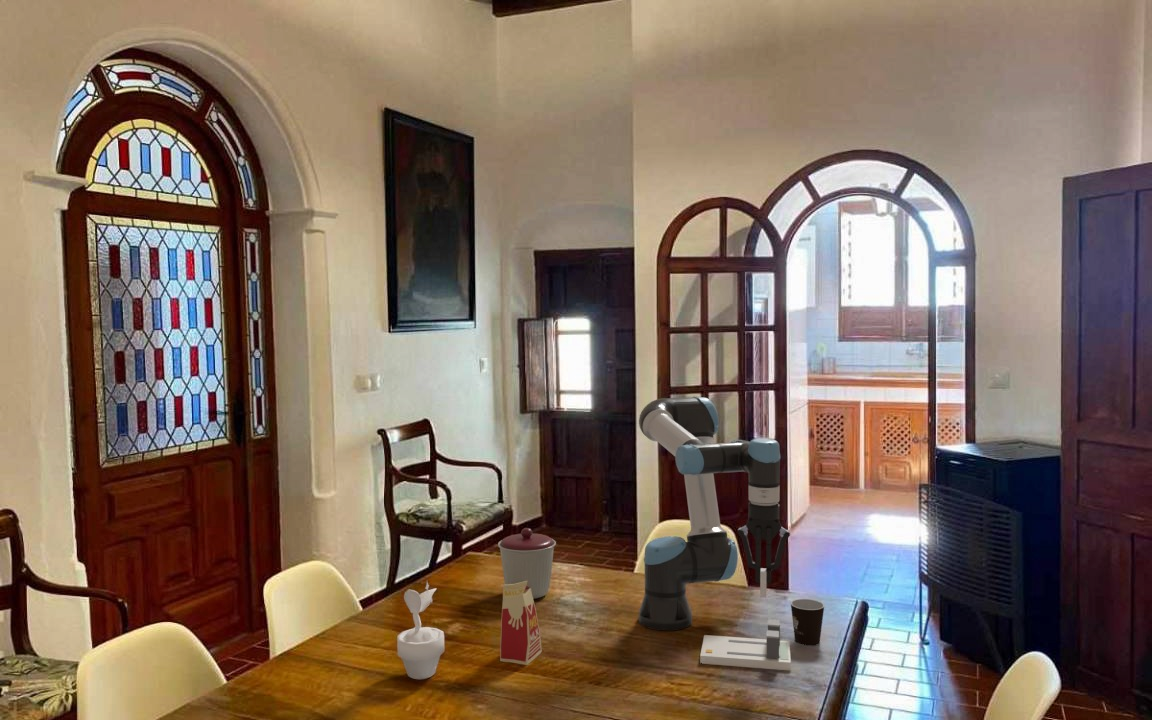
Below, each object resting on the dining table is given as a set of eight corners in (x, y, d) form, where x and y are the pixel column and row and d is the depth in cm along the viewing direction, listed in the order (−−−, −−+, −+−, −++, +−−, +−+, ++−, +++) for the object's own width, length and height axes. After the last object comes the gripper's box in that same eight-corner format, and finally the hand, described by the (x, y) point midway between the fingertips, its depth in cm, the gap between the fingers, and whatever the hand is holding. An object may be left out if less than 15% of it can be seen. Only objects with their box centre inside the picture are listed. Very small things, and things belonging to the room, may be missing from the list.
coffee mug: (825, 648, 223) (825, 610, 223) (791, 646, 225) (791, 608, 224) (821, 632, 234) (821, 596, 234) (789, 630, 236) (789, 594, 236)
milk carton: (541, 651, 223) (540, 576, 222) (528, 665, 214) (527, 587, 213) (509, 647, 226) (508, 573, 225) (495, 661, 217) (493, 583, 216)
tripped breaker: (766, 657, 212) (766, 636, 211) (766, 651, 216) (766, 630, 215) (779, 658, 211) (779, 636, 211) (778, 652, 215) (778, 631, 215)
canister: (555, 604, 259) (554, 535, 258) (495, 604, 259) (494, 536, 258) (557, 585, 277) (556, 521, 276) (501, 585, 278) (500, 521, 276)
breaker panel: (700, 663, 214) (700, 654, 214) (704, 642, 228) (704, 634, 228) (790, 670, 210) (790, 661, 209) (789, 648, 223) (789, 640, 223)
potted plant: (423, 689, 201) (421, 584, 200) (387, 678, 208) (384, 576, 206) (458, 669, 212) (456, 570, 211) (422, 660, 218) (420, 563, 217)
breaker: (767, 645, 219) (767, 624, 219) (767, 639, 223) (767, 619, 223) (779, 646, 219) (779, 625, 218) (779, 640, 223) (779, 619, 222)
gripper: (736, 504, 209) (736, 598, 211) (791, 506, 207) (790, 602, 208) (737, 497, 217) (737, 589, 218) (790, 499, 214) (789, 592, 215)
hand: (763, 595), depth 213 cm, fingers closed
